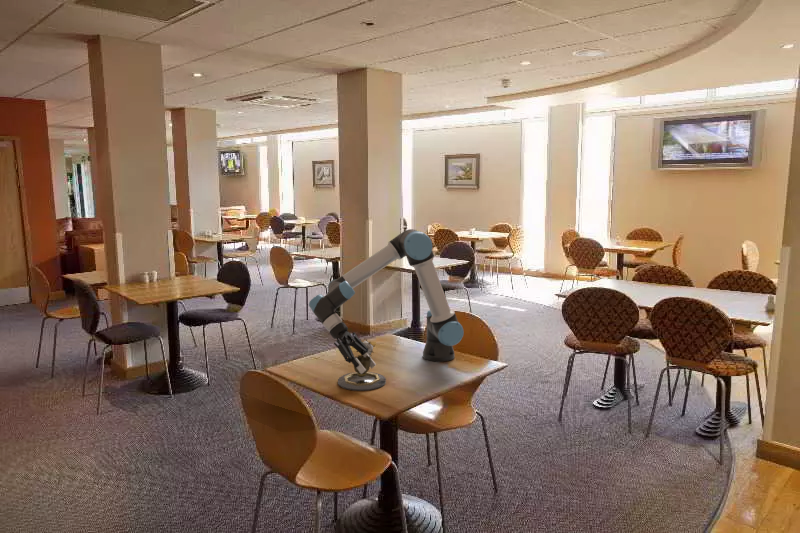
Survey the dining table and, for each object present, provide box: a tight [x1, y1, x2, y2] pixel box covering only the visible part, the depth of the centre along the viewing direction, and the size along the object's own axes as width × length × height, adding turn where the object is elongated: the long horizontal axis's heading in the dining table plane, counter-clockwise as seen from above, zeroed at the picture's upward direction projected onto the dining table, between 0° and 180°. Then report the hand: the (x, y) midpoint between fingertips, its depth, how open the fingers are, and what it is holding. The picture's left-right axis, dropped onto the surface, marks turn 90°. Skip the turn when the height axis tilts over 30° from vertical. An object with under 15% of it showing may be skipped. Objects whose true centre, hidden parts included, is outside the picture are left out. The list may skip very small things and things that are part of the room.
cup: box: [353, 354, 372, 377], centre depth 244 cm, size 8×7×8 cm
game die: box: [356, 338, 376, 357], centre depth 280 cm, size 9×8×10 cm
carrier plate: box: [337, 371, 387, 392], centre depth 245 cm, size 20×20×2 cm
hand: (368, 369), depth 243 cm, fingers closed on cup, 7 cm apart
